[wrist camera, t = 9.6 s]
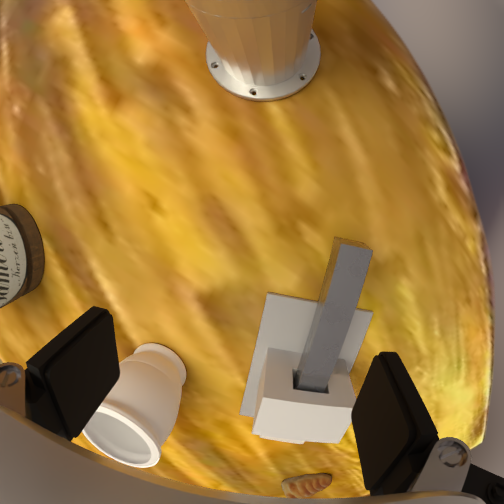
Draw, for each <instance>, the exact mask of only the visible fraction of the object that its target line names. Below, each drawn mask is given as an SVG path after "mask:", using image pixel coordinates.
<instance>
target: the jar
mask: <svg viewBox="0 0 504 504" xmlns="http://www.w3.org/2000/svg"><path fill="white" fill-rule="evenodd" d="M119 367H120V377H119V379H118V381H117V382H116V384H115V385H114V387H113V388H112V389H111V391H110V392H109V394H108V395H107V396H106V398H105V399H104V400H103V402H102V403H101V405H100V406H99V407H98V409H97V410H96V412H95V413H94V415H93V416H92V417H91V419H90V420H89V422H88V423H87V424H86V426H85V427H84V429H83V430H82V432H83V434H84V435H85V437H86V438H87V439H88V440H89V441H90V442H91V443H92V444H93V445H94V446H95V447H96V448H98V449H99V450H100V451H101V452H103V453H104V454H106V455H107V456H109V457H111V458H113V459H114V460H117V461H119V462H121V463H124V464H126V465H130V466H134V467H142V468H145V467H151V466H154V465H155V464H156V463H157V462H158V461H159V458H160V456H161V446H162V445H163V443H164V442H165V441H166V439H167V438H168V436H169V435H170V433H171V431H172V429H173V427H174V424H175V422H176V419H177V415H178V410H179V404H180V400H181V394H182V386H183V384H184V383H185V380H186V369H185V366H184V364H183V362H182V360H181V359H180V358H179V357H178V355H177V354H175V353H174V352H173V351H172V350H170V349H169V348H167V347H165V346H163V345H160V344H155V343H147V344H143V345H141V346H139V347H138V348H137V349H136V350H135V352H134V354H133V355H131V356H129V357H127V358H125V359H124V360H123V361H121V362H120V363H119Z"/></svg>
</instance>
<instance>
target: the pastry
mask: <svg viewBox="0 0 504 504" xmlns="http://www.w3.org/2000/svg"><path fill="white" fill-rule="evenodd" d="M331 482H332V477H331V476H330V475H328V474H325V473H318V474H305V475H302V476H297V477H292V478H288V479H285V480H284V481H283V482H282V483H281V484H282V488H283V490H284V493H285V495H286V497H287V498H304V497H310V496H312V495H314V494H315V493H317V492H319V491H322V490H323V489H325V488H326V487H328V486H329V485H330V484H331Z"/></svg>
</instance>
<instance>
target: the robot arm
mask: <svg viewBox="0 0 504 504" xmlns="http://www.w3.org/2000/svg"><path fill="white" fill-rule="evenodd" d="M185 2H186V3H187V5H188V7H189V8H190V10H191V12H192V13H193V15H194V17H195V18H196V20H197V22H198V23H199V25H200V27H201V28H202V30H203V32H204V33H205V35H206V37H207V39H208V40H209V41H208V43H207V48H206V62H207V65H208V68H209V71H210V72H211V74H212V76H213V77H214V79H215V80H216V81H217V83H218V84H219V85H220V86H222V87H223V88H224V89H225V90H226V91H228V92H230V93H231V94H233V95H235V96H238V97H241V98H243V99H247V100H253V101H273V100H279V99H282V98H285V97H289V96H291V95H293V94H295V93H297V92H298V91H300V90H301V89H302V88H304V87H305V86H306V85H307V84H308V83H309V82H310V81H311V80H312V78H313V77H314V75H315V73H316V71H317V69H318V66H319V63H320V56H321V51H320V44H319V41H318V38H317V36H316V34H315V32H314V31H313V29H312V24H313V19H314V14H315V8H316V3H317V0H185ZM310 38H311V39H310ZM216 66H218V67H217V68H215V67H216ZM300 78H304V79H305V80H300ZM253 92H256V95H254V96H253V95H252V93H253ZM26 364H27V367H28V368H27V369H26V370H24V369H23V367H22V366H20V365H19V364H16V363H11V362H7V363H2V364H0V504H504V478H502V477H500V476H497V475H495V474H493V473H491V472H488V471H486V470H484V469H482V468H479V467H477V466H475V465H473V464H471V457H472V455H471V451H470V449H469V448H468V446H467V445H466V444H465V443H464V442H463V441H461V440H459V439H457V438H453V437H446V438H442V439H440V440H439V437H438V435H437V434H438V432H437V429H436V427H435V425H434V423H433V421H432V419H431V417H430V415H429V413H428V411H427V409H426V407H425V405H424V403H423V401H422V399H421V397H420V395H419V393H418V391H417V389H416V387H415V385H414V383H413V381H412V379H411V377H410V376H409V374H408V372H407V370H406V368H405V366H404V364H403V363H402V361H401V359H400V357H399V355H398V354H397V353H396V352H380V353H379V355H376V356H375V357H374V358H373V361H372V363H371V366H370V369H369V371H368V374H367V376H366V378H365V381H364V383H363V386H362V388H361V390H360V393H359V395H358V397H357V400H356V402H355V404H354V406H353V408H352V412H351V420H352V424H353V429H354V433H355V438H356V443H357V448H358V453H359V458H360V463H361V468H362V474H363V479H364V485H365V488H366V490H370V495H371V496H369V497H355V498H333V499H298V498H278V497H266V496H256V495H248V494H240V493H233V492H227V491H221V490H215V489H210V488H205V487H200V486H195V485H191V484H187V483H183V482H179V481H175V480H171V479H167V478H164V477H160V476H157V475H154V474H150V473H147V472H144V471H141V470H138V469H135V468H132V467H129V466H127V465H124V464H121V463H118V462H116V461H113V460H111V459H108V458H106V457H103V456H101V455H98V454H96V453H94V452H92V451H89V450H87V449H85V448H83V447H81V446H78V445H76V444H74V443H72V442H71V440H72V439H73V437H75V438H76V437H78V436H79V434H80V433H81V432H82V430H83V429H84V427H85V426H86V424H87V423H88V422H89V420H90V419H91V417H92V416H93V415H94V413H95V412H96V410H97V409H98V407H99V406H100V405H101V403H102V402H103V400H104V399H105V398H106V396H107V395H108V394H109V392H110V391H111V389H112V388H113V387H114V385H115V384H116V382H117V381H118V379H119V377H120V367H119V361H118V354H117V347H116V340H115V332H114V323H113V317H112V315H111V314H110V313H109V311H108V310H107V309H103V308H99V307H96V306H93V307H91V308H90V309H89V310H88V311H86V312H85V313H84V314H83V315H81V316H80V317H79V318H78V319H76V320H75V321H74V322H73V323H72V324H70V325H69V326H68V327H67V328H65V329H64V330H63V331H62V332H61V333H59V334H58V335H57V336H56V337H55V338H53V339H52V340H51V341H50V342H49V343H48V344H46V345H45V346H44V347H43V348H42V349H41V350H39V351H38V352H37V353H36V354H35V355H34V356H32V357H31V358H30V359H29V360H28V361H27V362H26Z"/></svg>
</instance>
